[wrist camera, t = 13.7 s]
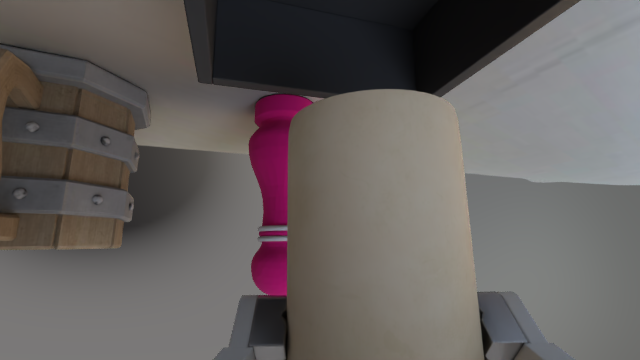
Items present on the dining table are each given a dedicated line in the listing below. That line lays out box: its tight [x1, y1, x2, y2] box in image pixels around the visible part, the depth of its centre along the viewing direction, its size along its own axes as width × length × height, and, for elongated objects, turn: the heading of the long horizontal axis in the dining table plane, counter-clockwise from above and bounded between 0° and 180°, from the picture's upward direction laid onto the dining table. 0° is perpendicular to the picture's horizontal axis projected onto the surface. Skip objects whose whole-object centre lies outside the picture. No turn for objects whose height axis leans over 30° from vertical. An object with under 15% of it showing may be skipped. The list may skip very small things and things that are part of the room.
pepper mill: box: [249, 94, 313, 295], centre depth 30 cm, size 7×7×20 cm
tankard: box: [0, 44, 151, 250], centre depth 23 cm, size 20×13×15 cm, turn 156°
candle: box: [287, 89, 484, 360], centre depth 10 cm, size 6×6×10 cm
